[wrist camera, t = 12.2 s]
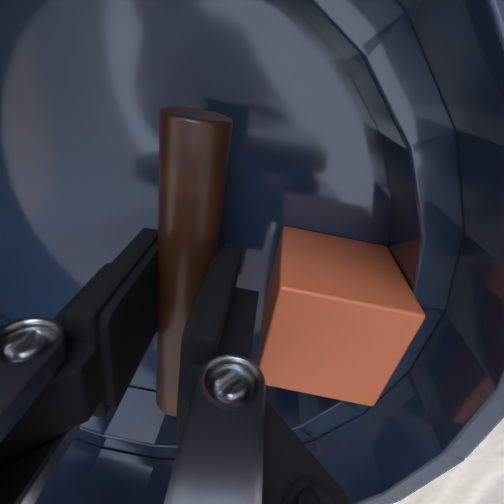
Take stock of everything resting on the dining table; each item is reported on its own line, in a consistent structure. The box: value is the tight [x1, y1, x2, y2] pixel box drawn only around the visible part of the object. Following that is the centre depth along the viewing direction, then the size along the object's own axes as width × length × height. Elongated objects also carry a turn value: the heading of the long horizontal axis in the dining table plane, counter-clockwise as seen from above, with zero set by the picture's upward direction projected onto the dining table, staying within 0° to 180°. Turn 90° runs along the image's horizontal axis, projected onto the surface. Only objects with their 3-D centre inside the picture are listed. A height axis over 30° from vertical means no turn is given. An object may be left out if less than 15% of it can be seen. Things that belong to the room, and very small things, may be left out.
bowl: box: [0, 0, 504, 504], centre depth 9 cm, size 19×19×6 cm
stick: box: [156, 107, 233, 416], centre depth 10 cm, size 10×2×2 cm, turn 171°
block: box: [257, 226, 425, 406], centre depth 10 cm, size 4×4×4 cm
